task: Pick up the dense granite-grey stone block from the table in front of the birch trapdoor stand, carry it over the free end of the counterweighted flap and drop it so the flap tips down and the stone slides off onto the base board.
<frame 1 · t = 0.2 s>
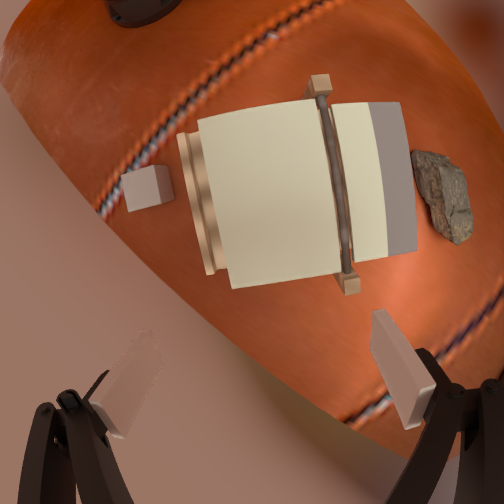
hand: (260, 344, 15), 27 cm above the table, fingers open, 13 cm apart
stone: (155, 186, 40), on the table
stand: (281, 186, 39), on the table
rock: (435, 192, 37), on the table
flap: (317, 186, 28), point 11 cm above the table, hinge at 0.0°
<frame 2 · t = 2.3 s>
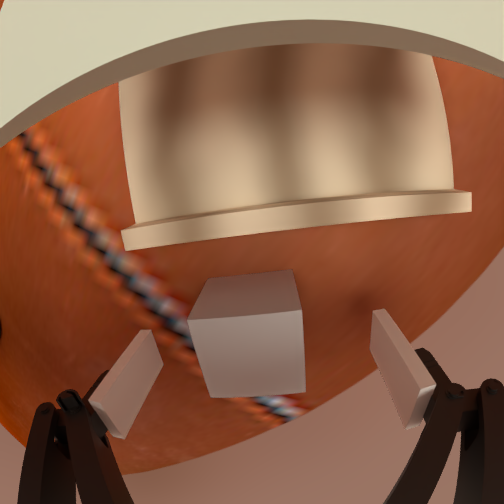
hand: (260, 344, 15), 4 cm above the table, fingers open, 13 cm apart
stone: (255, 310, 19), on the table
stand: (276, 25, 13), on the table
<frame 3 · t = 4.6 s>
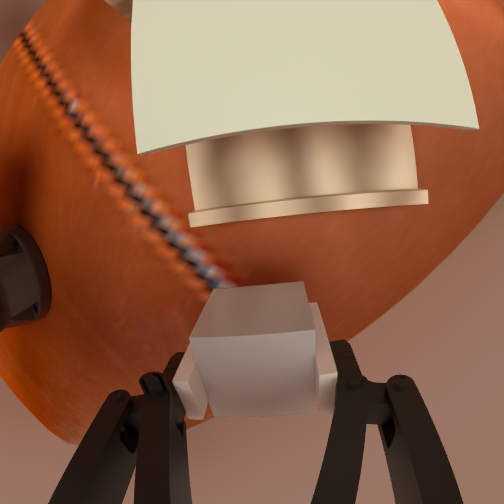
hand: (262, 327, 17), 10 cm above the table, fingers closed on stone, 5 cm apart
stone: (262, 324, 17), point 10 cm above the table, touching gripper
stand: (292, 73, 21), on the table
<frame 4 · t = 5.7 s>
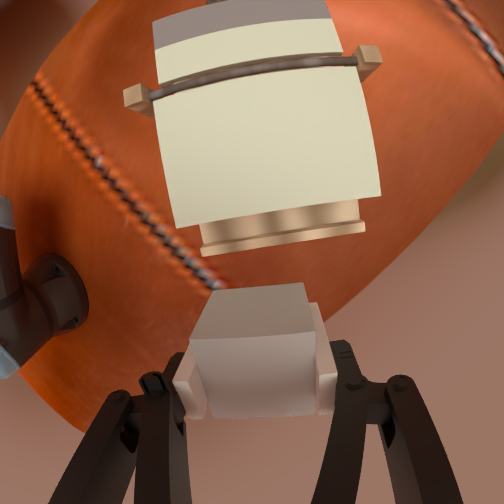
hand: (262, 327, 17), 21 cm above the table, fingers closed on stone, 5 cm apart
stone: (262, 325, 17), point 21 cm above the table, touching gripper
stand: (266, 141, 33), on the table
flap: (257, 93, 22), point 11 cm above the table, hinge at 0.0°
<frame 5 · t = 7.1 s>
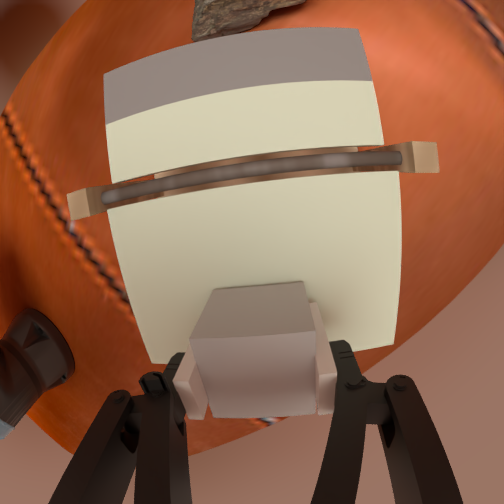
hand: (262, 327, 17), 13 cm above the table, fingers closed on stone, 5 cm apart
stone: (262, 325, 17), point 13 cm above the table, touching gripper
stand: (263, 224, 28), on the table
rock: (252, 5, 21), on the table
flap: (250, 202, 17), point 11 cm above the table, hinge at 0.0°
when the fingers open (13 cm above the table, at t = 7.3 s): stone drops 9 cm and tips over, resting on stand.
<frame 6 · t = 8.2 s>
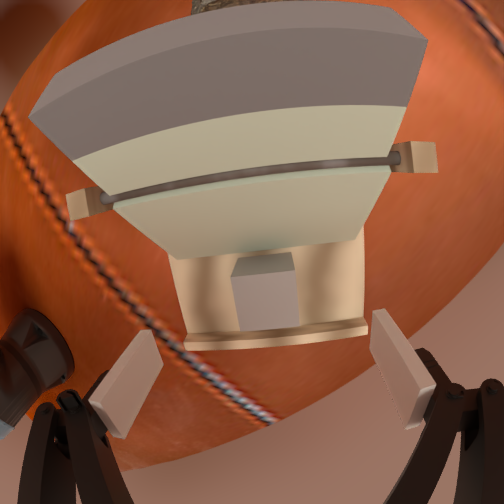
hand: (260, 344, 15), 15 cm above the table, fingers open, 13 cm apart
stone: (263, 263, 26), point 4 cm above the table, tilted 90°, touching stand
stand: (262, 224, 28), on the table
rock: (249, 5, 22), on the table
flap: (246, 172, 18), point 10 cm above the table, hinge at -55.4°
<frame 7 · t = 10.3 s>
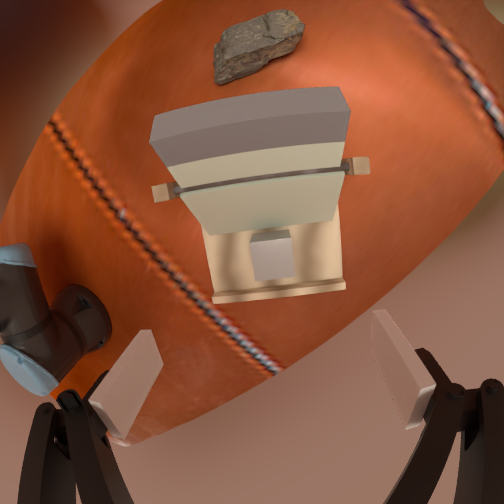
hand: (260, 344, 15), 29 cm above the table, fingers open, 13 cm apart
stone: (270, 235, 39), point 4 cm above the table, tilted 90°, touching stand
stand: (268, 211, 41), on the table
rock: (255, 51, 35), on the table
flap: (261, 176, 31), point 10 cm above the table, hinge at -55.4°
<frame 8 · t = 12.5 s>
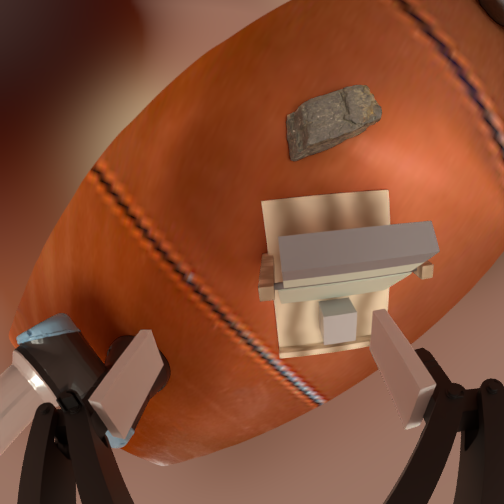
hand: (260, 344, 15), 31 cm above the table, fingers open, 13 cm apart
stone: (337, 306, 43), point 4 cm above the table, tilted 90°, touching stand
pitcher: (488, 7, 22), on the table
stand: (332, 281, 46), on the table
rock: (325, 123, 39), on the table
flap: (345, 271, 35), point 10 cm above the table, hinge at -55.4°
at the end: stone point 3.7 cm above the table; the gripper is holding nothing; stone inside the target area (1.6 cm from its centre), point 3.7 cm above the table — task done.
